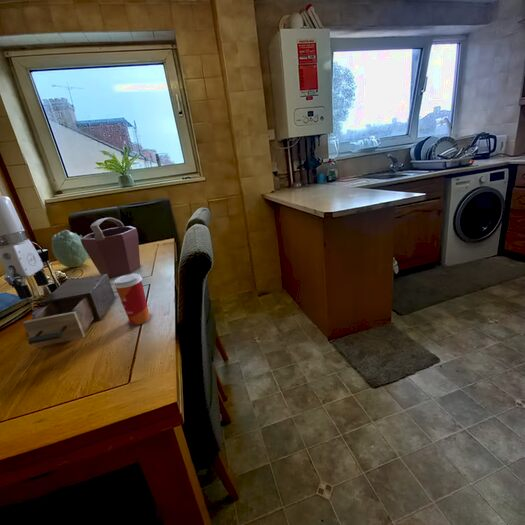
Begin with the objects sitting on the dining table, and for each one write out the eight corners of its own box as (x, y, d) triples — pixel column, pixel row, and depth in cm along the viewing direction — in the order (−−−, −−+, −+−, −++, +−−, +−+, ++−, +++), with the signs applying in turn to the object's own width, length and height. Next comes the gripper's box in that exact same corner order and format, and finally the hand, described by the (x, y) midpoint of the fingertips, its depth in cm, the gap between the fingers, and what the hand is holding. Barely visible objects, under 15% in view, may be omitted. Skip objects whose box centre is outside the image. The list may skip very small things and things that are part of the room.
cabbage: (95, 258, 159) (83, 224, 152) (92, 267, 142) (78, 229, 135) (63, 265, 153) (49, 230, 146) (56, 275, 136) (40, 236, 129)
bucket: (122, 280, 118) (104, 223, 110) (80, 281, 124) (59, 227, 115) (154, 260, 141) (141, 211, 132) (117, 262, 146) (102, 214, 137)
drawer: (76, 348, 72) (65, 322, 70) (23, 359, 70) (10, 333, 68) (102, 310, 91) (94, 289, 89) (61, 318, 89) (52, 297, 87)
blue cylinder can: (33, 327, 88) (28, 316, 87) (42, 318, 94) (37, 308, 92) (52, 323, 89) (47, 312, 88) (60, 314, 94) (56, 304, 93)
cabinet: (100, 319, 88) (90, 292, 84) (53, 329, 85) (41, 301, 82) (115, 297, 103) (107, 273, 100) (76, 304, 101) (66, 280, 98)
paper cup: (127, 317, 87) (114, 276, 82) (153, 310, 89) (141, 270, 84) (125, 330, 80) (110, 286, 75) (153, 322, 82) (140, 279, 77)
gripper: (6, 244, 74) (33, 300, 80) (40, 231, 90) (61, 278, 96) (-26, 249, 73) (4, 306, 79) (15, 235, 89) (37, 283, 95)
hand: (35, 291), depth 88 cm, fingers open, 9 cm apart
